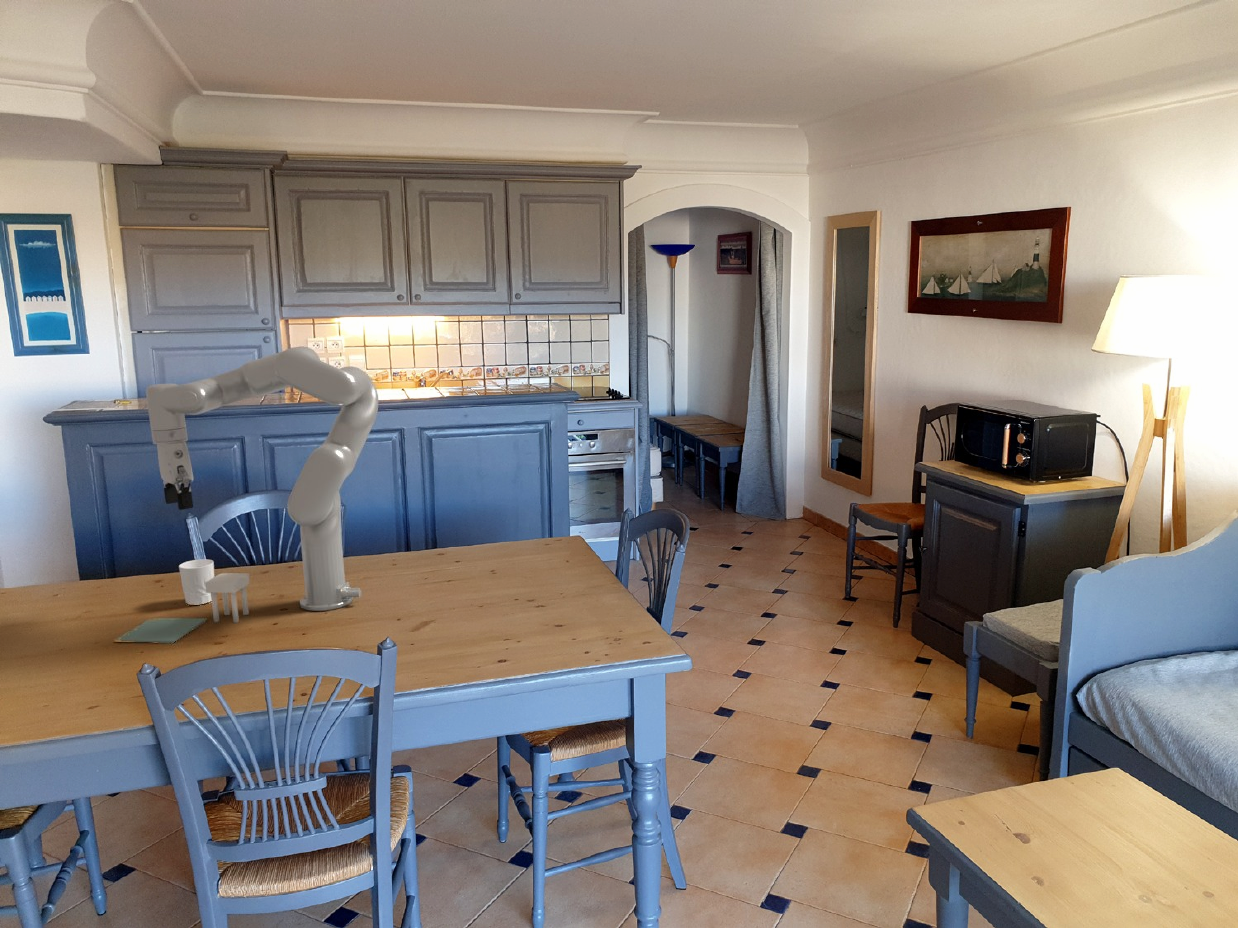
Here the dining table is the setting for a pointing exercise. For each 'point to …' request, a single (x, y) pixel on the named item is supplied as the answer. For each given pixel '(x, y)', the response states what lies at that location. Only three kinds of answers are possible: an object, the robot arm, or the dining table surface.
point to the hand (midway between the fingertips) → (179, 505)
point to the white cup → (196, 580)
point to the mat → (162, 630)
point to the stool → (228, 585)
